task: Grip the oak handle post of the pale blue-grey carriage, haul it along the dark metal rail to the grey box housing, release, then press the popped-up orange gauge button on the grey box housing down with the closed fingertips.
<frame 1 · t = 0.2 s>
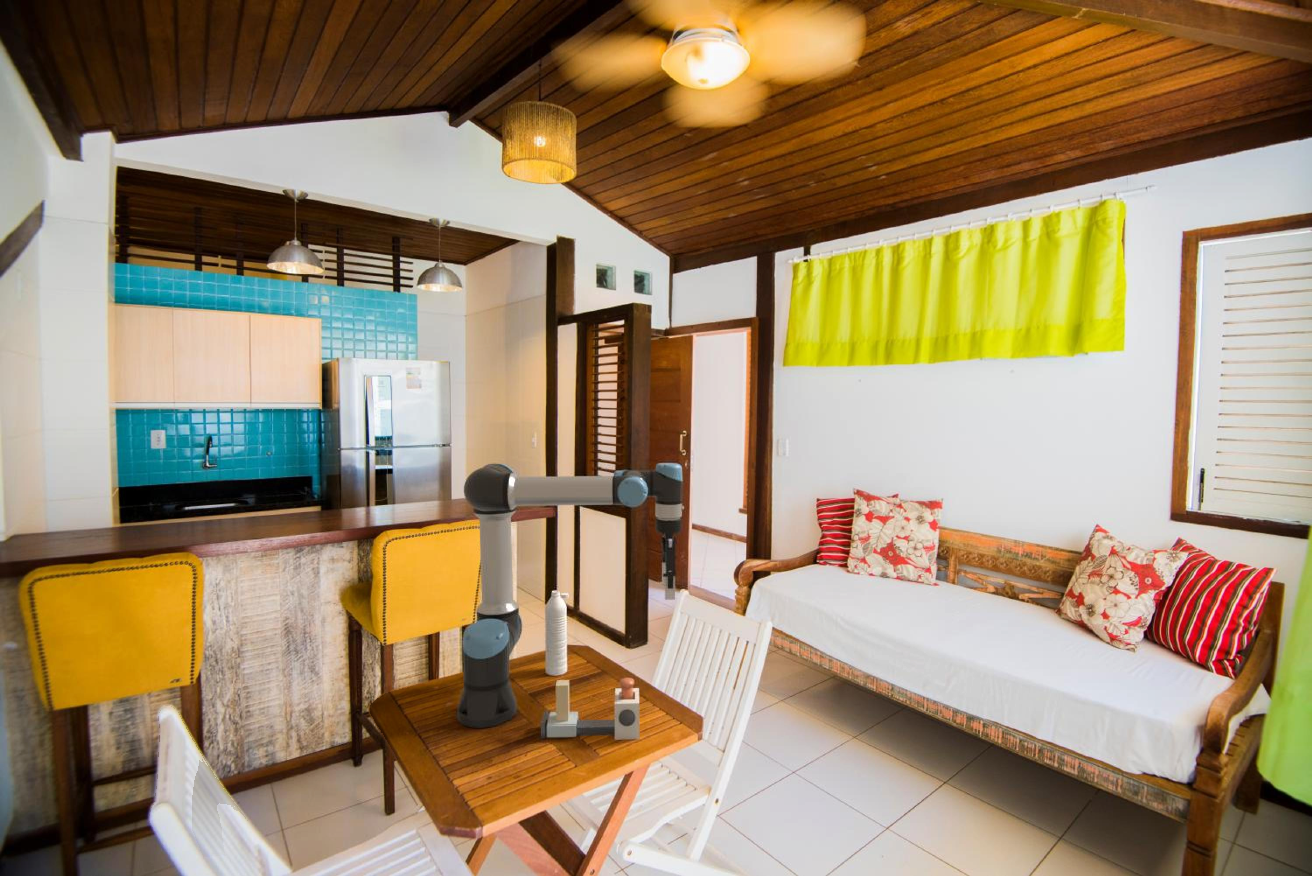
hand: (668, 591, 176), 28 cm above the table, fingers open, 13 cm apart
grey box housing: (627, 730, 154), on the table
water bottle: (558, 673, 188), on the table
rail: (583, 731, 154), on the table
gauge button: (627, 693, 154), point 10 cm above the table, slide at 0.0 cm
carriage: (562, 706, 153), point 7 cm above the table, slide at 0.0 cm
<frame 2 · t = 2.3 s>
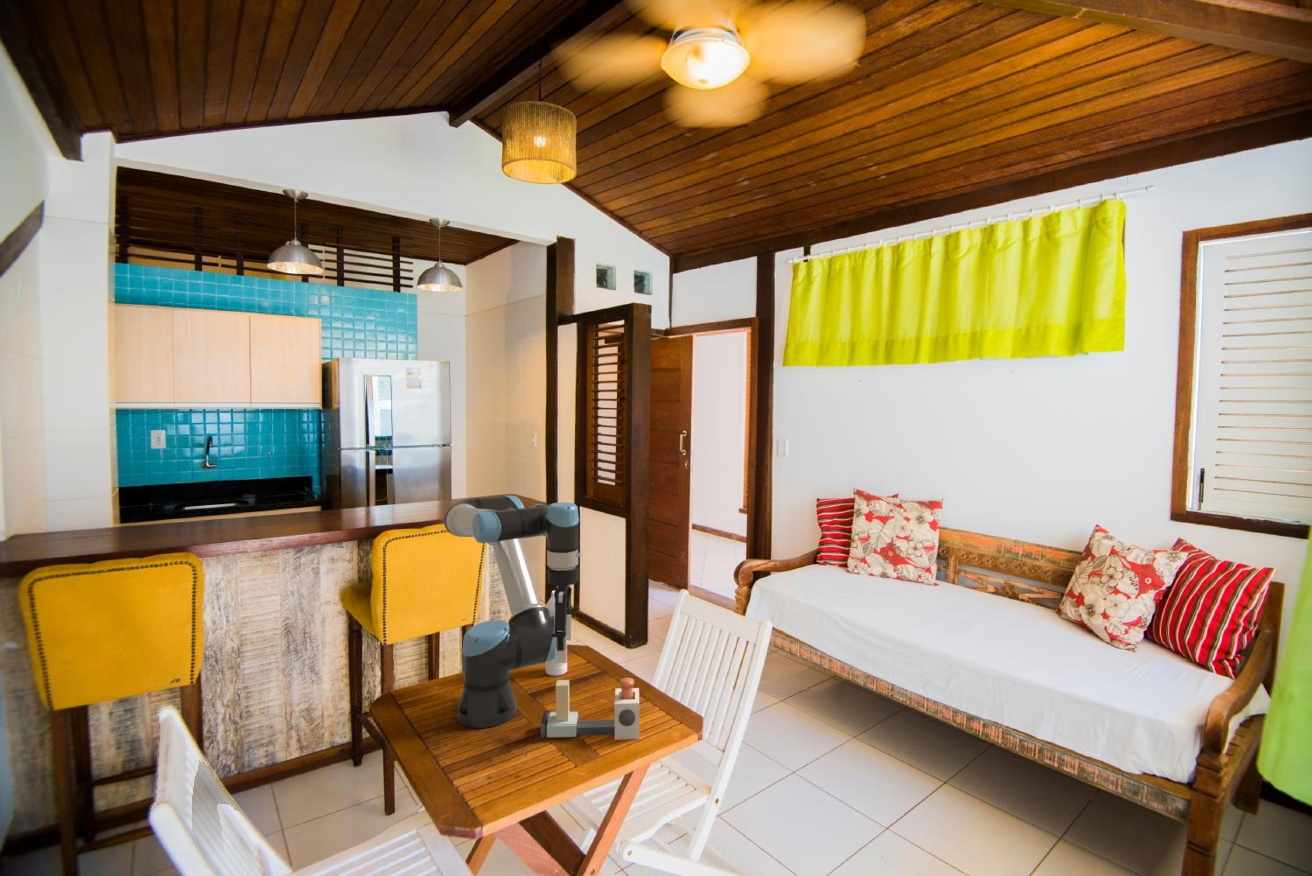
hand: (563, 650, 153), 21 cm above the table, fingers open, 13 cm apart
nothing on the table moved.
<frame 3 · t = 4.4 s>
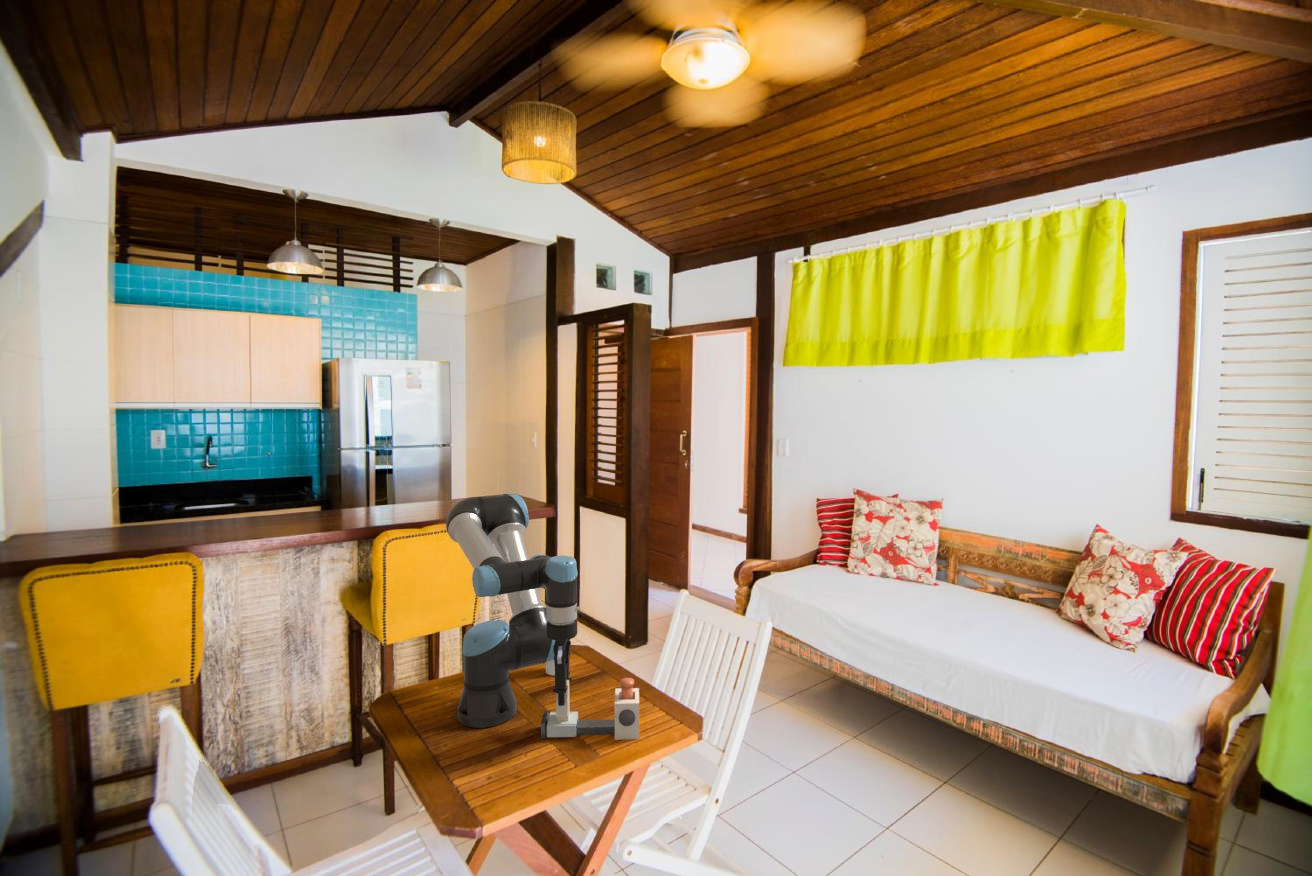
hand: (562, 712, 154), 5 cm above the table, fingers closed on carriage, 3 cm apart
carriage: (562, 706, 153), point 7 cm above the table, slide at 0.0 cm, touching gripper
everything else where it was.
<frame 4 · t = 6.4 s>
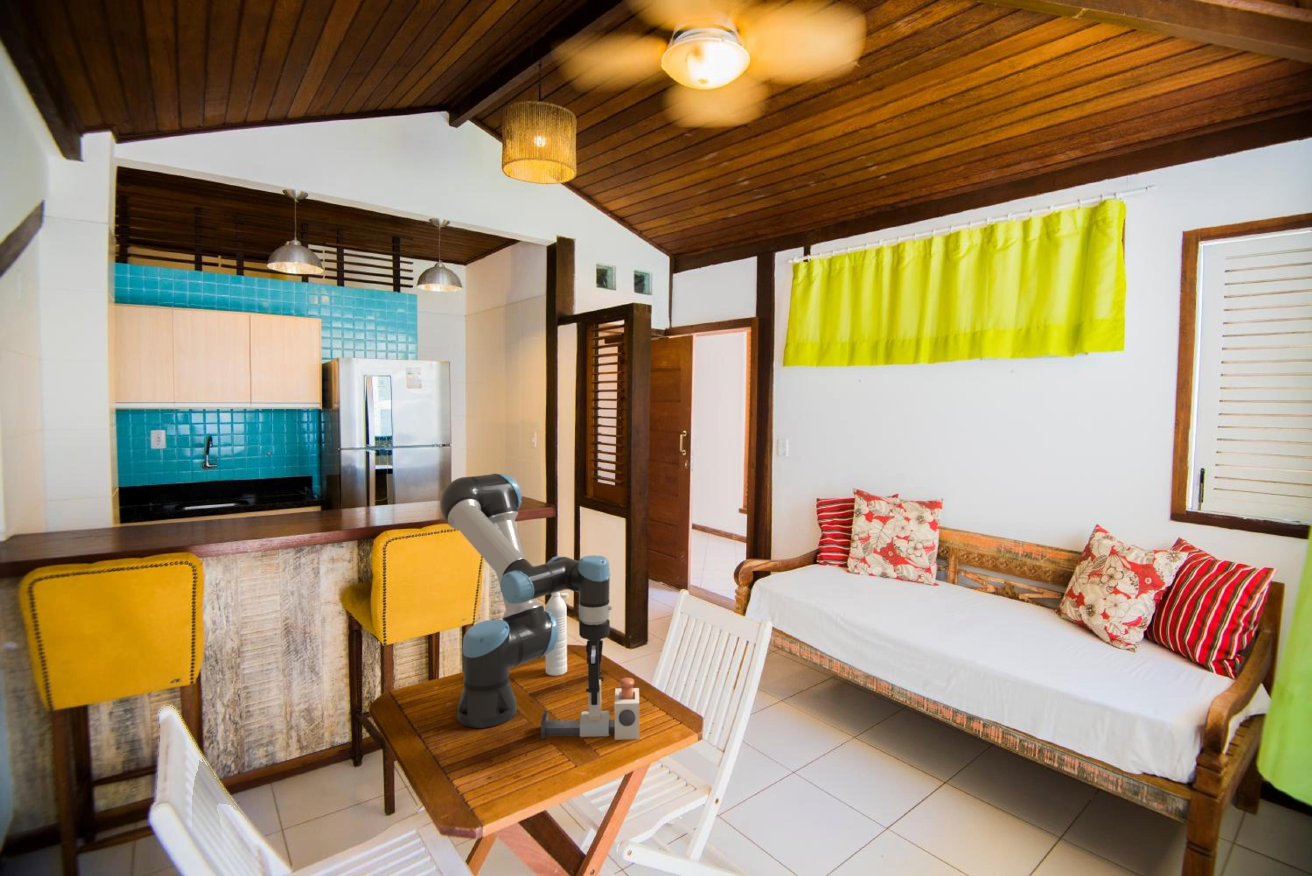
hand: (594, 711, 154), 5 cm above the table, fingers closed on carriage, 3 cm apart
carriage: (594, 705, 154), point 7 cm above the table, slide at 8.0 cm, touching gripper
everything else where it was.
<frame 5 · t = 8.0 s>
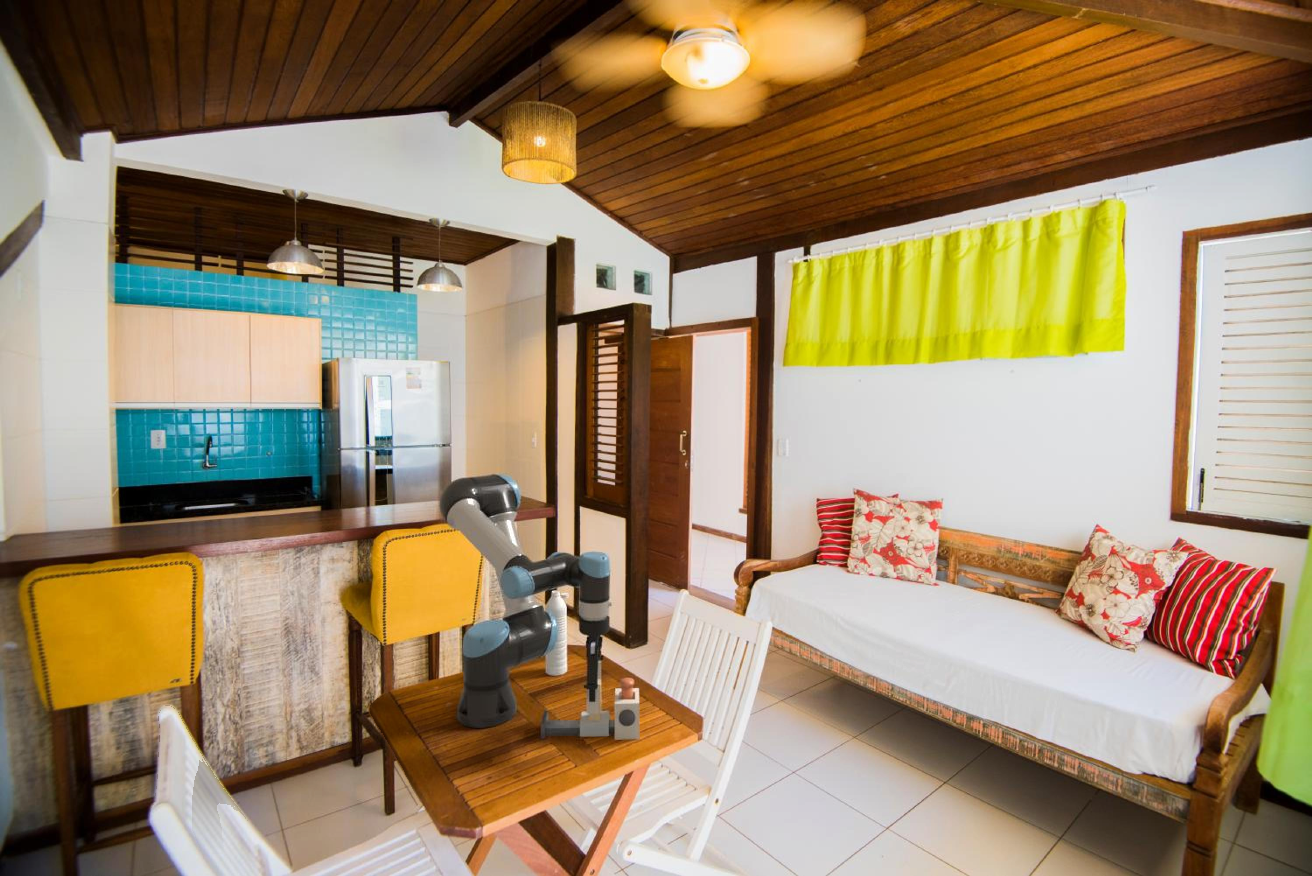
hand: (594, 699, 154), 8 cm above the table, fingers open, 13 cm apart
carriage: (594, 705, 154), point 7 cm above the table, slide at 8.0 cm
everything else where it was.
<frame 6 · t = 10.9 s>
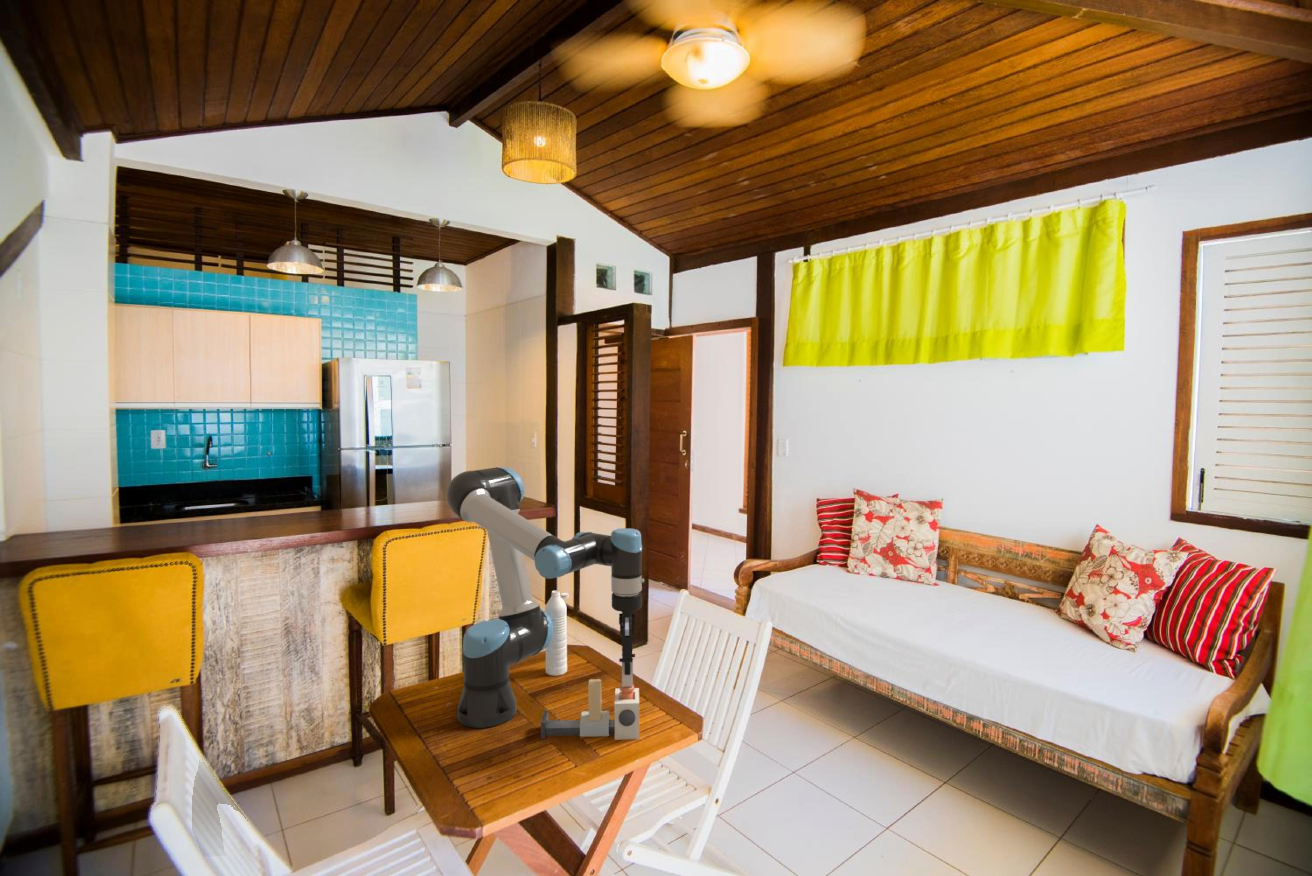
hand: (627, 685, 154), 12 cm above the table, fingers closed
gauge button: (627, 698, 154), point 8 cm above the table, slide at -1.3 cm, touching gripper
everything else where it was.
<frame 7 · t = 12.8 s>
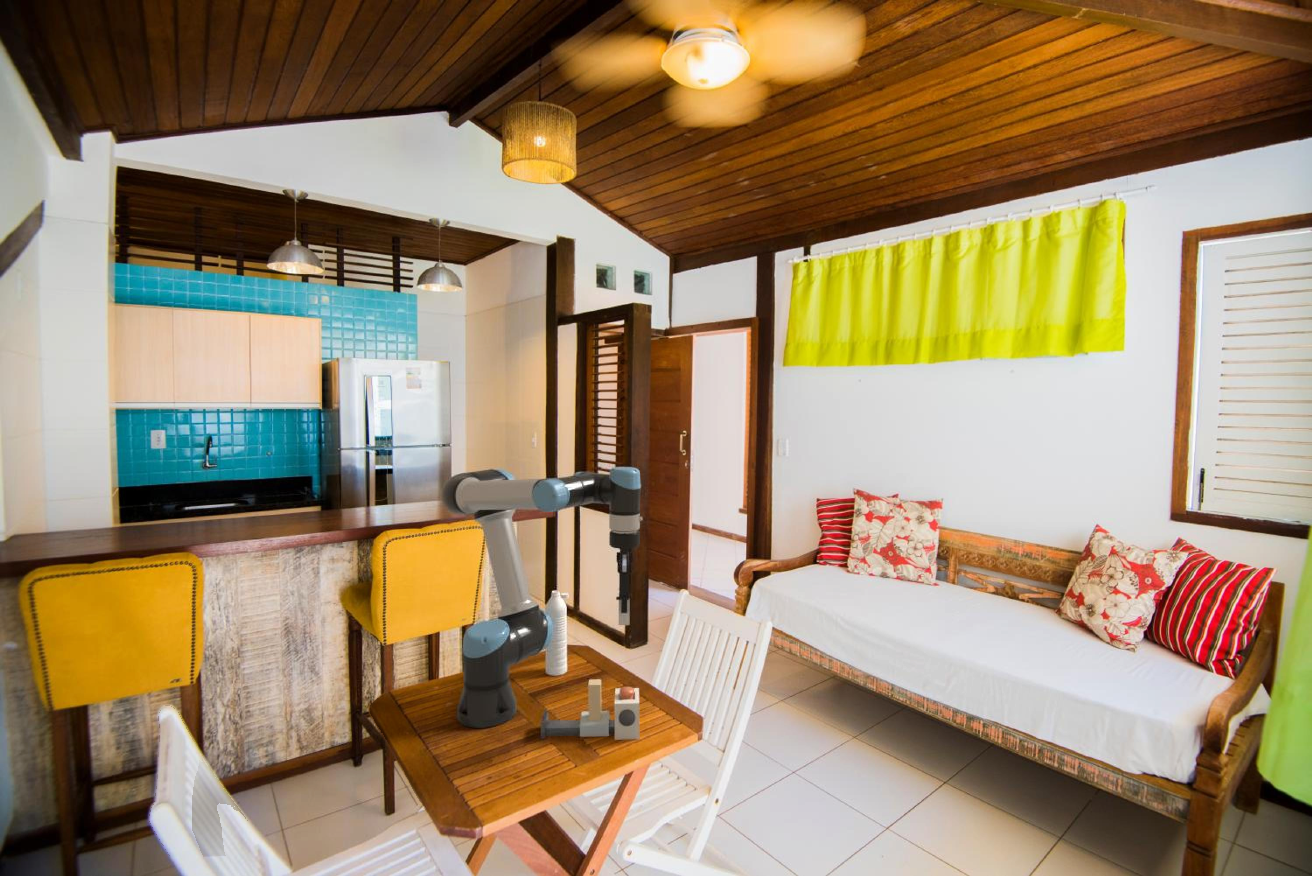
hand: (624, 623, 153), 27 cm above the table, fingers closed
gauge button: (627, 702, 154), point 7 cm above the table, slide at -2.3 cm
everything else where it was.
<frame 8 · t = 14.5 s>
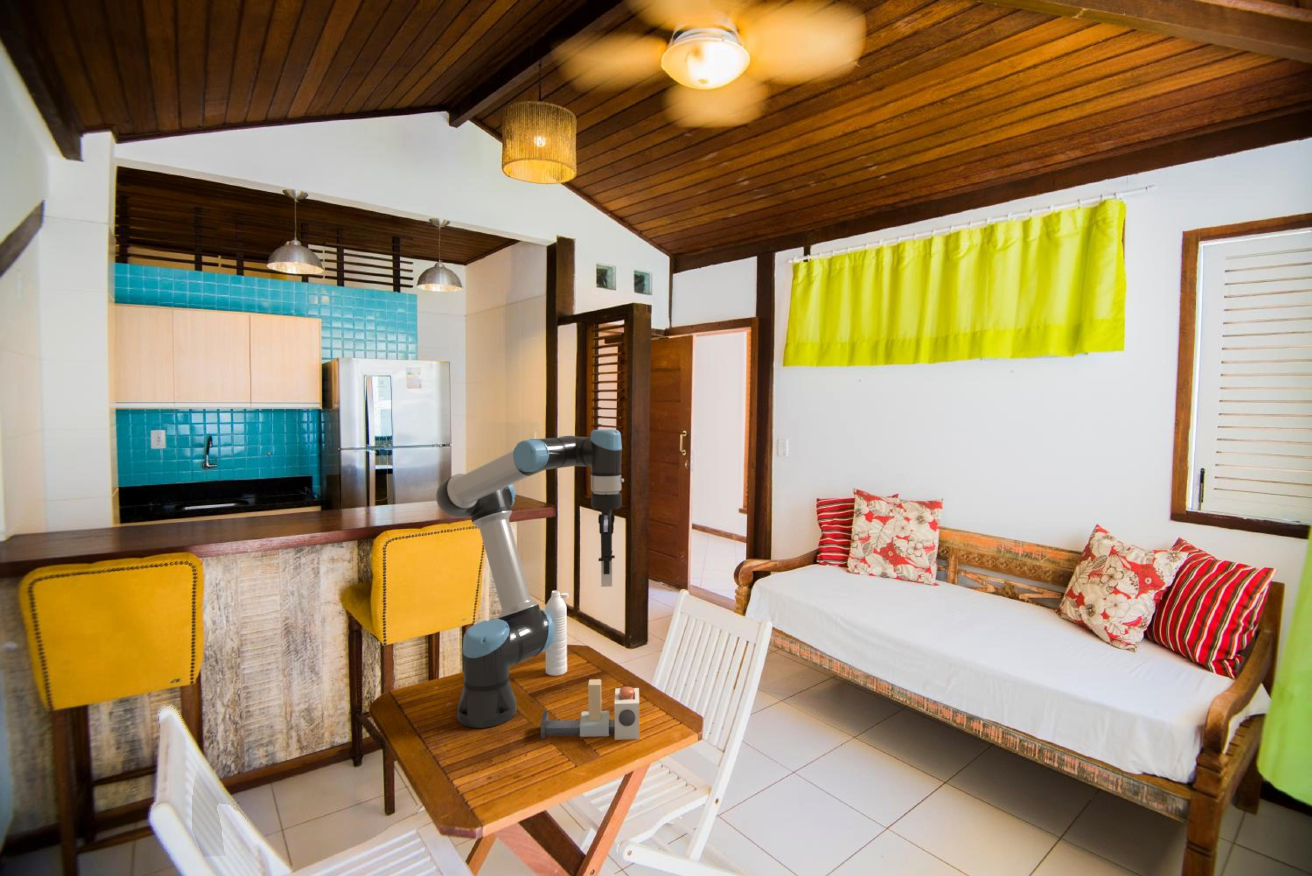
hand: (606, 585, 154), 36 cm above the table, fingers closed
nothing on the table moved.
at the end: carriage slide at 8.0 cm; gauge button slide at -2.3 cm; the gripper is holding nothing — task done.
